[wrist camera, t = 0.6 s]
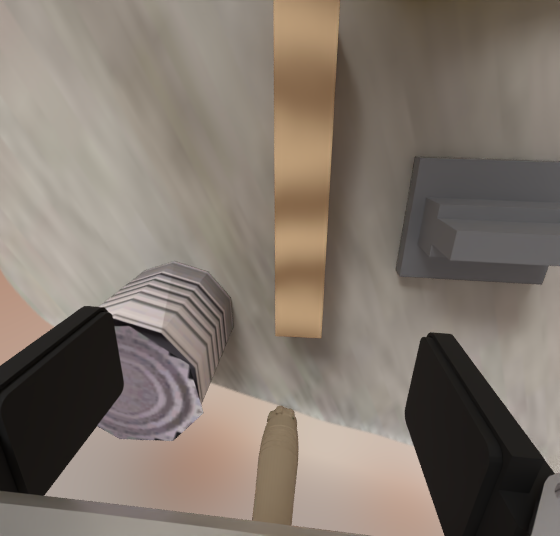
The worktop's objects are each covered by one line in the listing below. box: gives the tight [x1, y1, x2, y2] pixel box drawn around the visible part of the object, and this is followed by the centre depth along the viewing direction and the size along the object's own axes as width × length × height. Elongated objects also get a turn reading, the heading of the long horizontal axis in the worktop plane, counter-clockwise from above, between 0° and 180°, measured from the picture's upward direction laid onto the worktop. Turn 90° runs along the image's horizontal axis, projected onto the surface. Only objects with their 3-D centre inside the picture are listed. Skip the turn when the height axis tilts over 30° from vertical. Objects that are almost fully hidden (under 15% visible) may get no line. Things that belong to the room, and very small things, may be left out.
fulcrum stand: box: [396, 157, 560, 284], centre depth 24 cm, size 10×12×8 cm
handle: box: [252, 406, 298, 525], centre depth 31 cm, size 5×6×15 cm
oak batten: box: [274, 0, 340, 338], centre depth 26 cm, size 24×4×5 cm, turn 179°
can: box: [97, 261, 233, 441], centre depth 29 cm, size 11×11×12 cm
